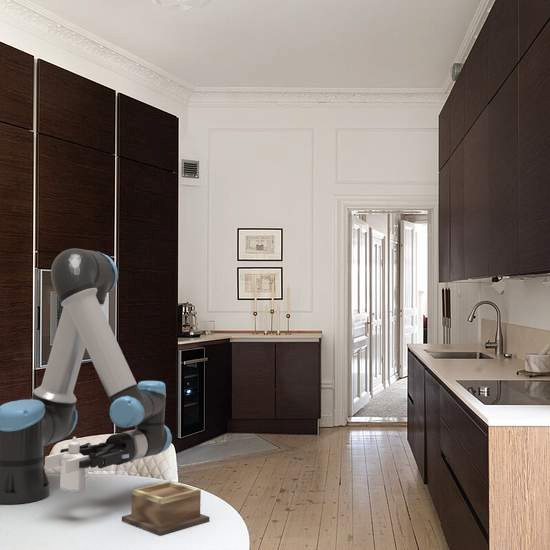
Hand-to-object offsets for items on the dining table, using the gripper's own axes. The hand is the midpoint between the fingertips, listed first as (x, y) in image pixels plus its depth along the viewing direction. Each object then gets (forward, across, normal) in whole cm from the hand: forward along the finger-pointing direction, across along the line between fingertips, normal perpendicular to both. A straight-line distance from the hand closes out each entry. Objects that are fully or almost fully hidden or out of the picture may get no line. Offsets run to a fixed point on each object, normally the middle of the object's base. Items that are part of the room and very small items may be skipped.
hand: (56, 465), depth 155 cm
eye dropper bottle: (-5, 0, -7) cm, 9 cm away
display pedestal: (-14, -20, -12) cm, 28 cm away
